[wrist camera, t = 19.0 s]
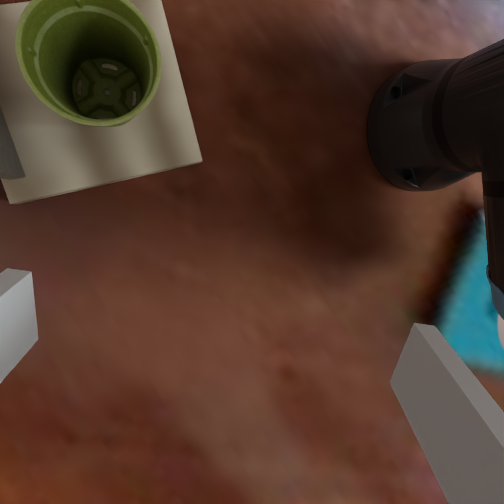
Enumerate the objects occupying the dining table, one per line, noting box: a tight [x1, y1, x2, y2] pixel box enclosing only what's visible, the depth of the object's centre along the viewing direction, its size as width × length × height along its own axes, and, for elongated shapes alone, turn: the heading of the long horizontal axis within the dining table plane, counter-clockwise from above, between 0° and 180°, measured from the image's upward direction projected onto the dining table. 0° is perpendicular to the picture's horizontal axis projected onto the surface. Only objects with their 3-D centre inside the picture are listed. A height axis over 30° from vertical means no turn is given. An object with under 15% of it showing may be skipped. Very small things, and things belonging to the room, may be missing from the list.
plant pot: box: [15, 0, 162, 127], centre depth 29 cm, size 9×9×9 cm
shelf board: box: [0, 0, 202, 204], centre depth 34 cm, size 18×16×2 cm
